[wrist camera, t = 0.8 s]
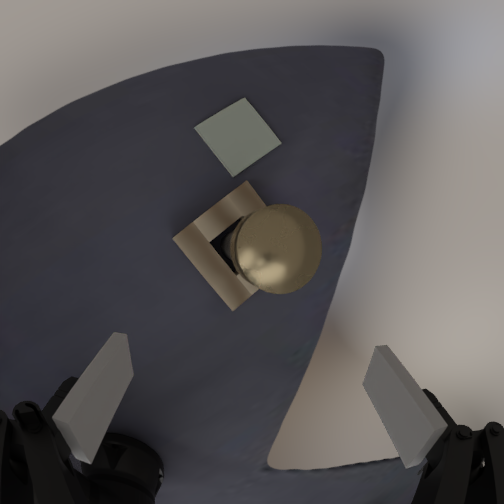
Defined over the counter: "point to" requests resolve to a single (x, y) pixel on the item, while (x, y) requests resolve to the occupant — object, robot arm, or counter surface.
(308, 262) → the steel peg
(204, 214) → the plate
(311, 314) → the counter surface
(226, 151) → the rubber mat
